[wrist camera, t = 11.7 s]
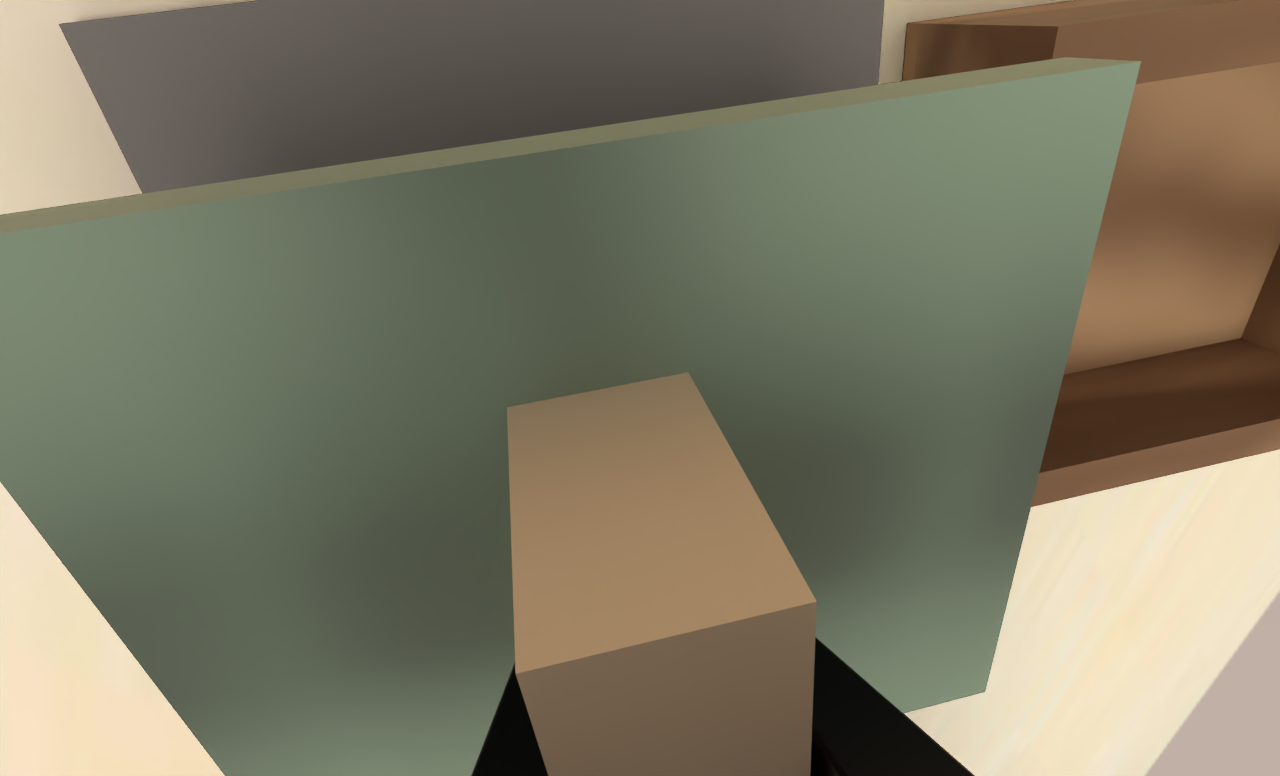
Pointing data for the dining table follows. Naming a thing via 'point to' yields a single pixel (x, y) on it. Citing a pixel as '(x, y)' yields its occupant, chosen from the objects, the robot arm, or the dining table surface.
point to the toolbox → (1160, 233)
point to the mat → (441, 73)
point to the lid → (567, 422)
